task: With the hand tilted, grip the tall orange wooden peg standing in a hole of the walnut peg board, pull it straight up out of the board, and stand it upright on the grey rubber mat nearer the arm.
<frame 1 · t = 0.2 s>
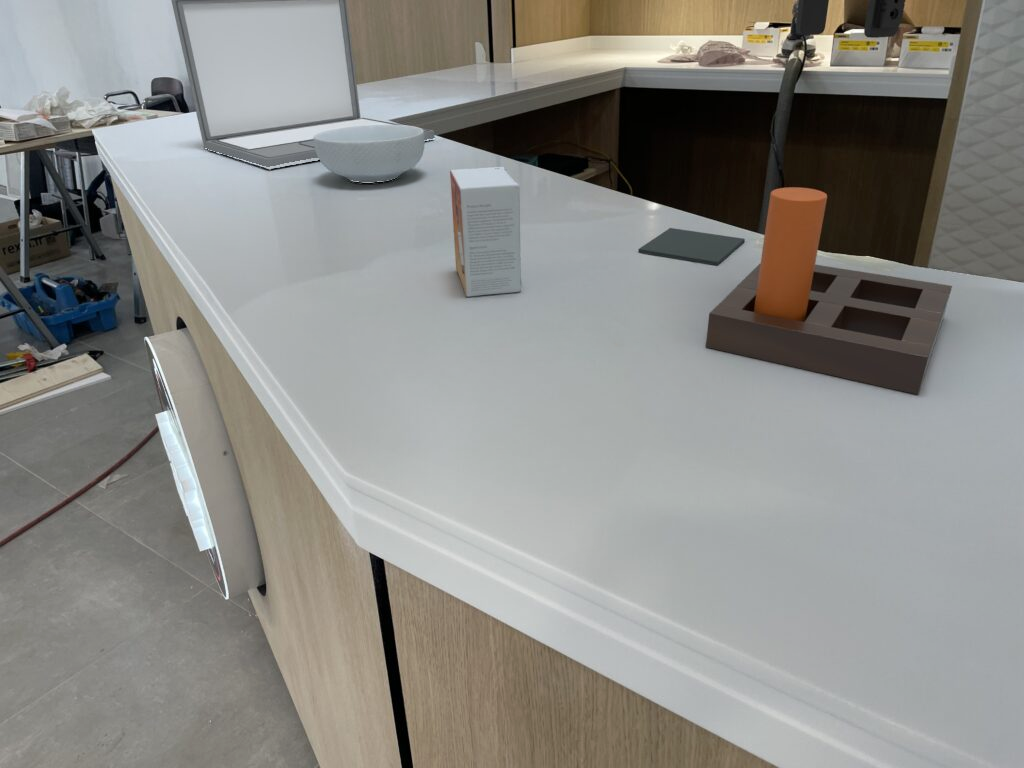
hand: (842, 35, 55), 22 cm above the counter, tool pointing down, fingers open, 8 cm apart
peg board: (827, 332, 61), on the counter
cereal bowl: (374, 179, 116), on the counter
mat: (692, 247, 82), on the counter
laptop: (320, 146, 142), on the counter
small box: (487, 283, 74), on the counter
peg: (775, 338, 60), resting in peg board
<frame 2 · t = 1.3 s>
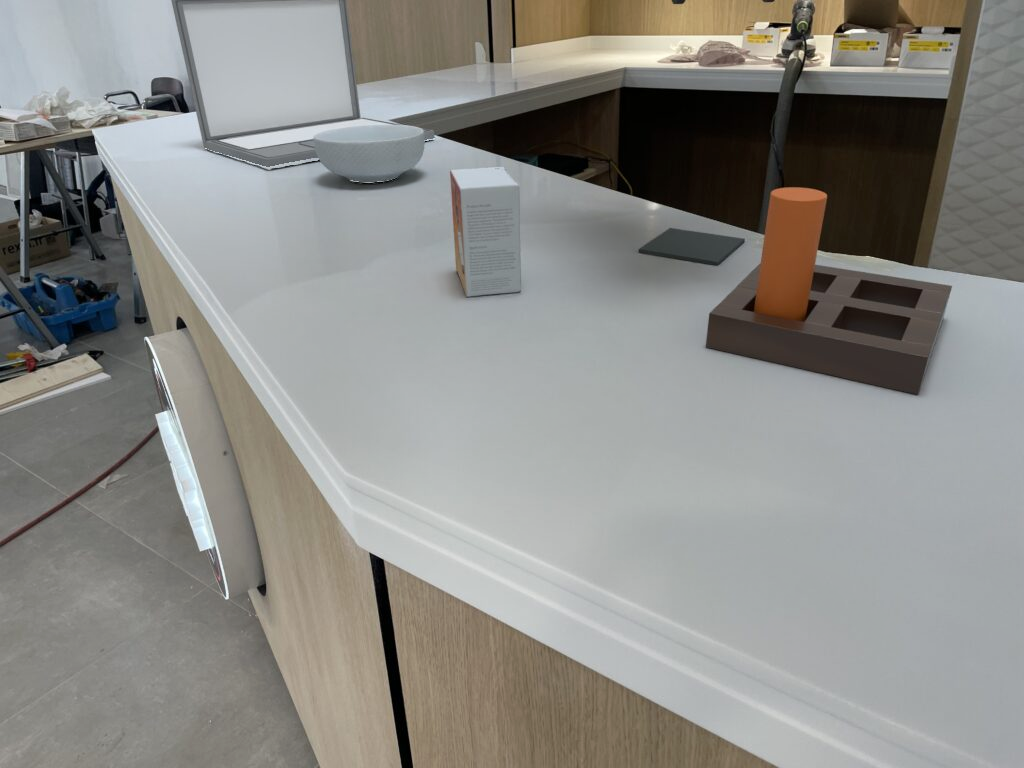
nothing on the counter moved.
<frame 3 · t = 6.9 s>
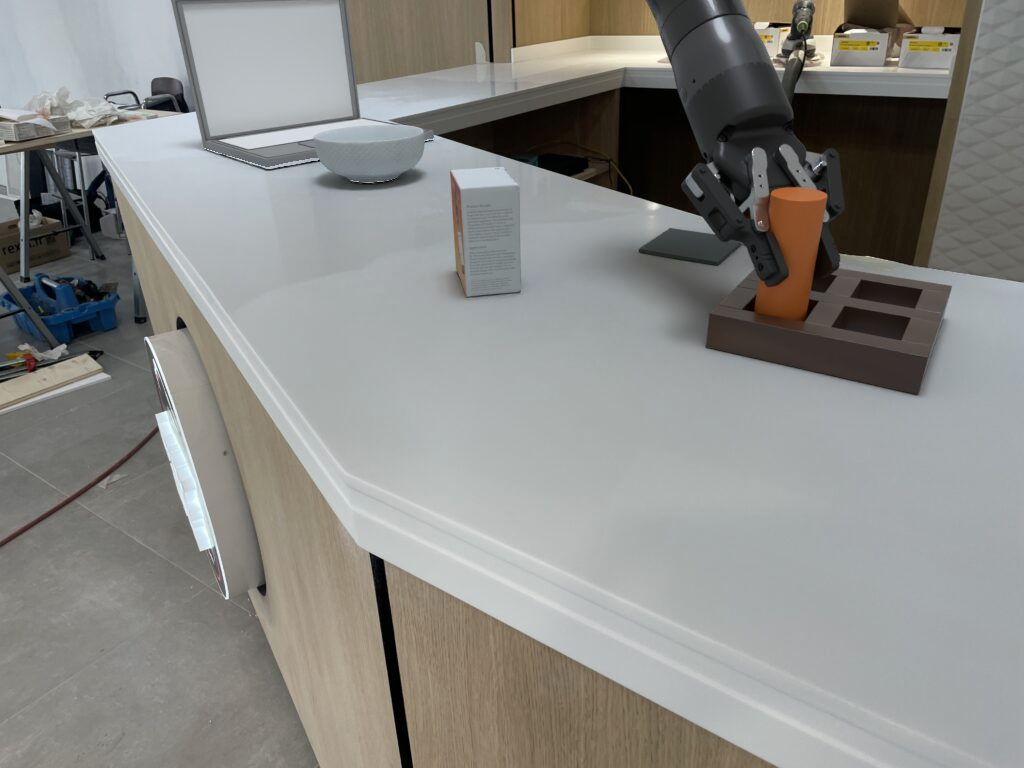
hand: (803, 277, 56), 6 cm above the counter, tool tilted 45°, fingers closed on peg, 4 cm apart
peg: (775, 338, 60), resting in peg board, touching gripper
everything else where it was.
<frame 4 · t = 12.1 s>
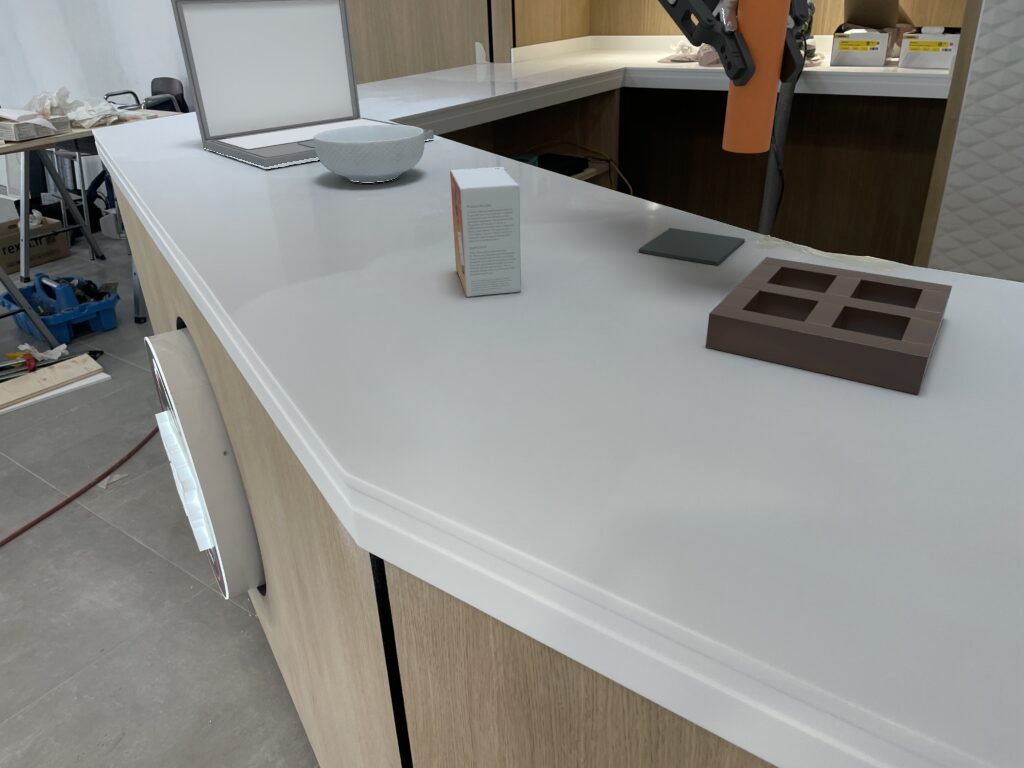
hand: (769, 77, 60), 19 cm above the counter, tool tilted 45°, fingers closed on peg, 4 cm apart
peg: (745, 148, 64), point 13 cm above the counter, touching gripper
everything else where it was.
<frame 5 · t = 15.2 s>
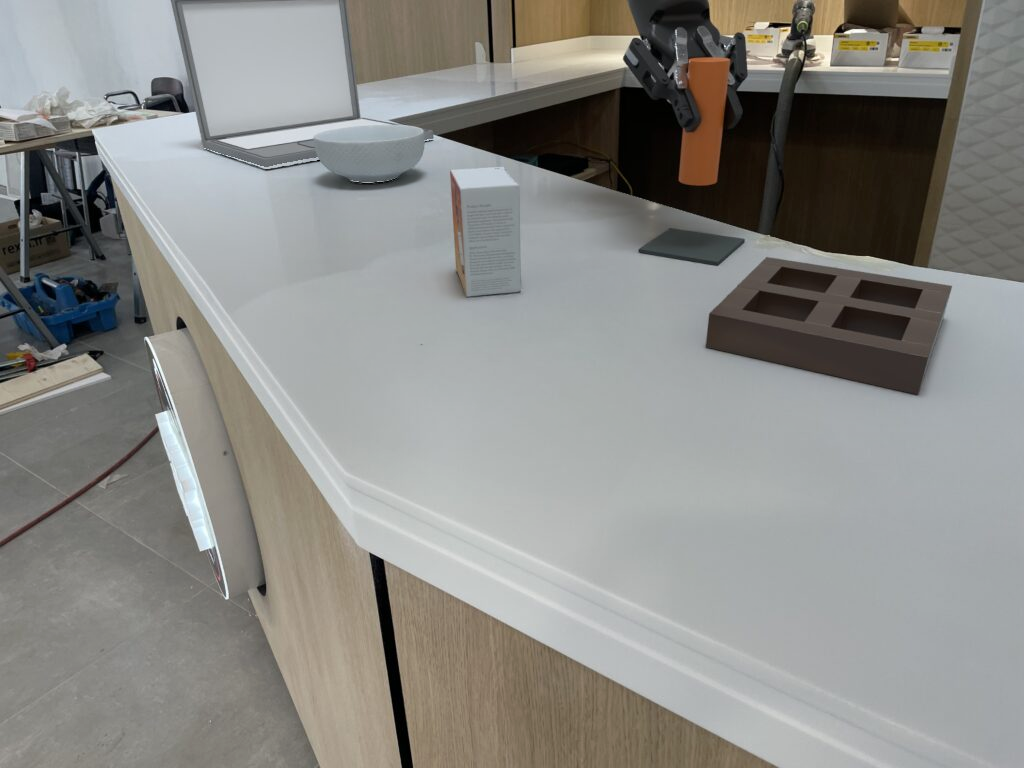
hand: (714, 125, 74), 13 cm above the counter, tool tilted 45°, fingers closed on peg, 4 cm apart
peg: (697, 181, 78), point 7 cm above the counter, touching gripper
everything else where it was.
when the fingers open (6 cm above the counter, at t = 17.5 s): peg stays where it is, resting on mat.
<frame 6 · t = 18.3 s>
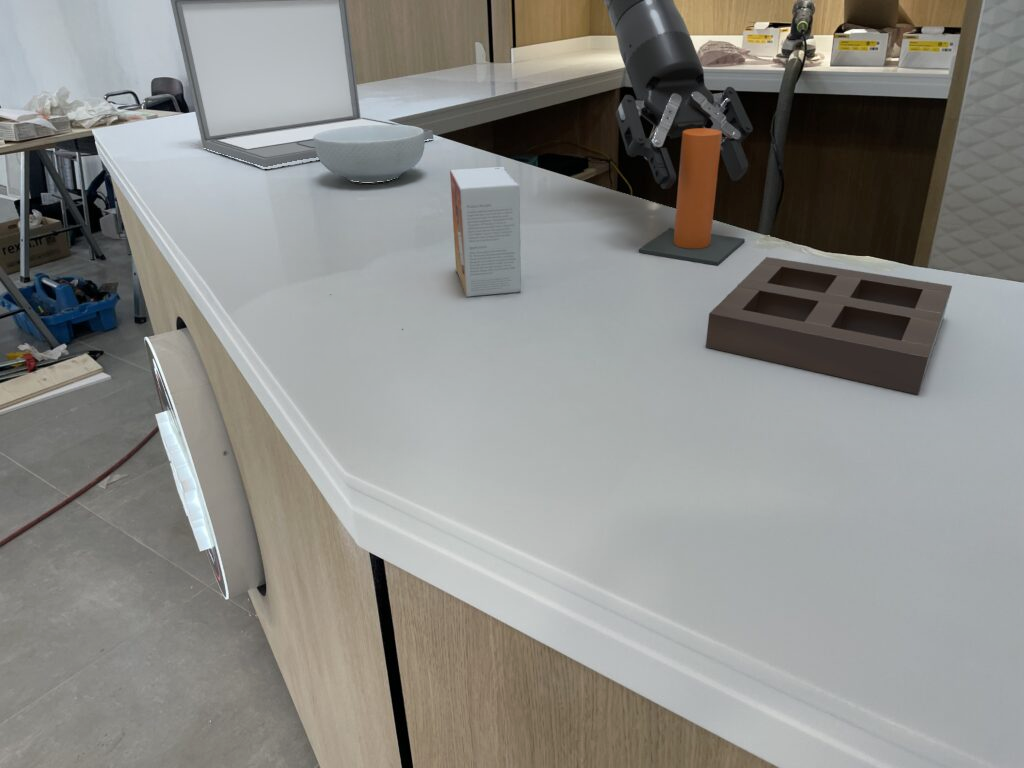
hand: (705, 180, 77), 8 cm above the counter, tool tilted 45°, fingers open, 8 cm apart
peg: (691, 243, 82), resting on mat
everything else where it was.
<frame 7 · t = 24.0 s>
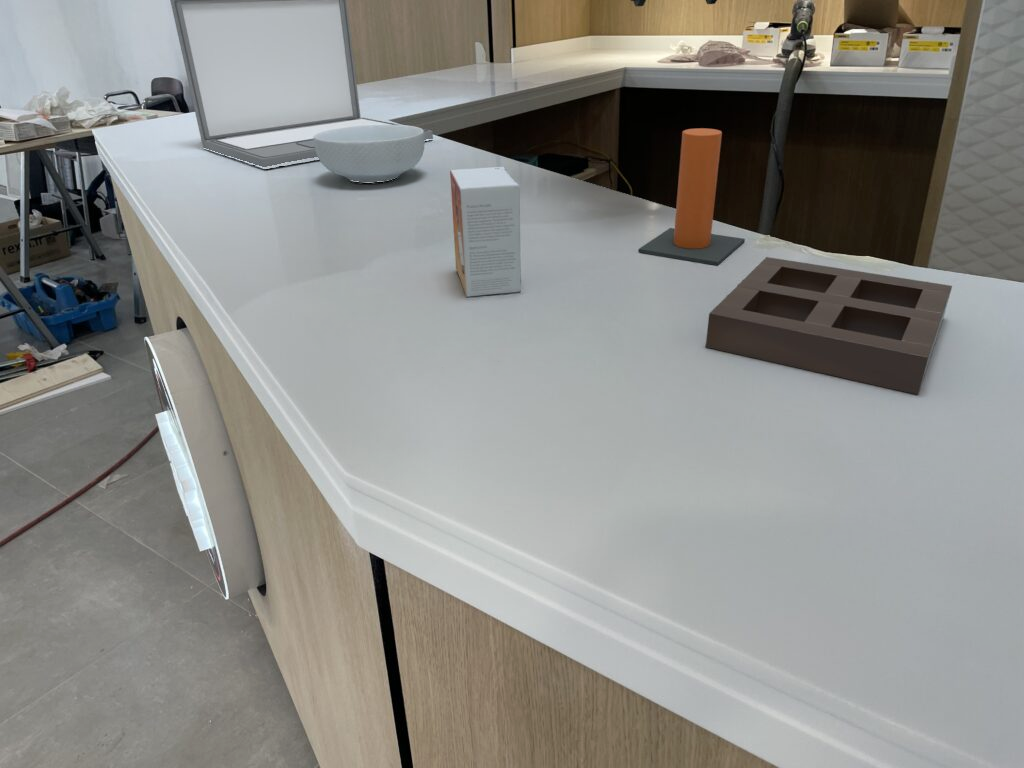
nothing on the counter moved.
at the end: peg 0.1 cm off-centre on the mat, point 0.4 cm above the mat's base; peg tilted 0°; peg touching mat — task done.
